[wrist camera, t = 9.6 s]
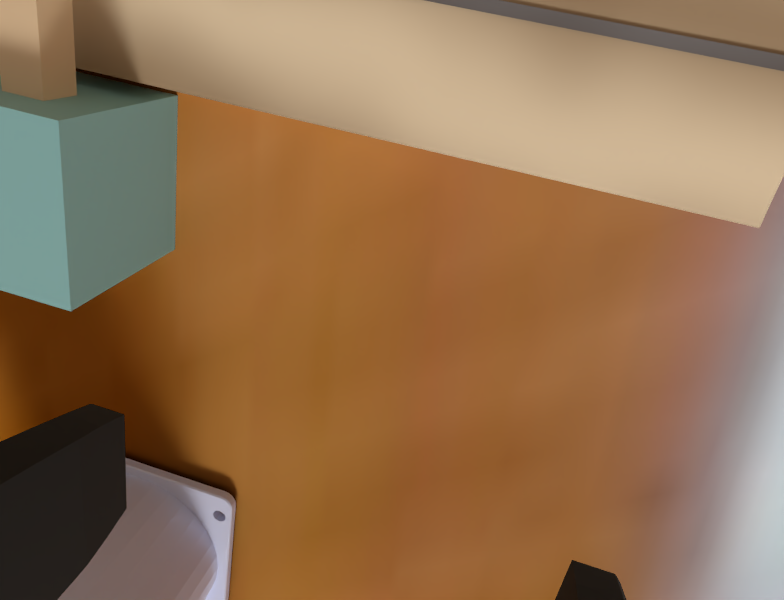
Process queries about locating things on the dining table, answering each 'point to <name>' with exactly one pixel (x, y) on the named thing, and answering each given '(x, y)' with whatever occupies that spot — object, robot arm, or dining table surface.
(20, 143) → the tan post teal base
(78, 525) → the robot arm
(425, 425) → the dining table surface
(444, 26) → the board
